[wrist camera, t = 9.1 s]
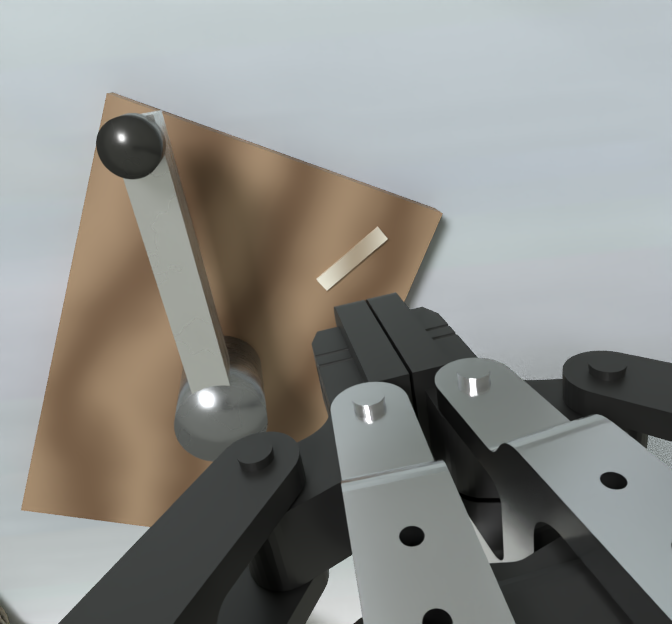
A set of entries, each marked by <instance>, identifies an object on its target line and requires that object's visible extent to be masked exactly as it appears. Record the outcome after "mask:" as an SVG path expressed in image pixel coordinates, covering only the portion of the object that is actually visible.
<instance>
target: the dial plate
mask: <svg viewBox="0 0 672 624" xmlns="http://www.w3.org/2000/svg"><path fill="white" fill-rule="evenodd" d="M159 110H160V109H157V108H154V107H151V106H149V105H146V104H143V103H140V102H137V101H135V100H132V99H129V98H126V97H123V96H121V95H118V94H115V93H107V95H106V100H105V105H104V109H103V114H102V119H101V124H100V129H101V127H102V126H103V125H104V124H105V122H107V121H109V120H110V119H113V118H115V117H118V116H121V115H123V114H127V113H139V114H142V113H148V112H153V111H159ZM162 114H163V117H164V121H165V125H166V128H167V132H168V135H169V139H170V143H171V146H172V150H173V154H174V157H175V161H176V165H177V168H178V172H179V176H180V179H181V183H182V186H183V190H184V194H185V197H186V201H187V205H188V208H189V212H190V216H191V219H192V223H193V227H194V230H195V234H196V238H197V241H198V245H199V248H200V252H201V256H202V259H203V263H204V267H205V270H206V274H207V278H208V281H209V285H210V289H211V292H212V296H213V299H214V303H215V307H216V310H217V314H218V318H219V321H220V325H221V329H222V332H223V336H231V337H235V338H238V339H241V340H243V341H245V342H246V343H248V344H249V345H250V346H252V348H253V349H254V350H255V351H256V352H257V354H258V356H259V358H260V361H261V366H262V375H263V384H264V393H265V401H266V410H267V419H268V425H267V430H266V432H280V433H284V434H287V435H289V436H291V437H292V438H293V439H294V440H295V441H296V442H299V441H301V440H303V439H305V438H307V437H308V436H310V435H312V434H313V433H315V432H316V431H318V430H319V429H320V428H321V427H322V426H323V425H324V423H325V422H326V421H327V419H328V413H327V410H326V407H325V403H324V400H323V396H322V391H321V386H320V382H319V377H318V372H317V368H316V363H315V358H314V353H313V349H312V341H313V339H314V337H315V335H316V333H317V331H322V330H326V329H330V328H334V327H337V326H336V321H335V315H334V307H335V306H339V305H344V304H348V303H352V302H357V301H361V300H366V299H369V298H374V297H378V296H382V295H387V294H391V293H395V292H396V293H397V294H398V295H399V296H400V298H401V299H402V300H403V302H404V301H405V299H406V297H407V294H408V292H409V290H410V287H411V285H412V283H413V280H414V278H415V276H416V274H417V271H418V269H419V267H420V264H421V262H422V260H423V257H424V255H425V253H426V251H427V248H428V246H429V244H430V241H431V239H432V237H433V235H434V232H435V230H436V228H437V225H438V223H439V221H440V218H441V216H442V214H443V213H441V212H440V211H438V210H436V209H435V208H432V207H430V206H427V205H424V204H421V203H419V202H416V201H413V200H410V199H407V198H405V197H402V196H399V195H396V194H393V193H391V192H388V191H385V190H382V189H380V188H377V187H374V186H371V185H368V184H366V183H363V182H360V181H357V180H355V179H352V178H349V177H346V176H343V175H341V174H338V173H335V172H332V171H329V170H327V169H324V168H321V167H318V166H316V165H313V164H310V163H307V162H304V161H302V160H299V159H296V158H293V157H291V156H288V155H285V154H282V153H279V152H277V151H274V150H271V149H268V148H265V147H263V146H260V145H257V144H254V143H252V142H249V141H246V140H243V139H240V138H238V137H235V136H232V135H229V134H226V133H224V132H221V131H218V130H215V129H213V128H210V127H207V126H204V125H201V124H199V123H196V122H193V121H190V120H188V119H185V118H182V117H179V116H176V115H174V114H171V113H168V112H165V111H162ZM100 129H99V130H100ZM182 369H183V364H182V361H181V358H180V355H179V352H178V348H177V345H176V342H175V339H174V336H173V333H172V330H171V327H170V323H169V320H168V317H167V314H166V311H165V308H164V305H163V302H162V298H161V295H160V292H159V289H158V286H157V283H156V280H155V277H154V273H153V270H152V267H151V264H150V261H149V258H148V255H147V252H146V248H145V245H144V242H143V239H142V236H141V233H140V230H139V227H138V223H137V220H136V217H135V214H134V211H133V208H132V205H131V202H130V198H129V195H128V192H127V189H126V186H125V183H124V180H123V178H121V177H119V176H117V175H115V174H113V173H112V172H110V171H109V170H108V169H107V168H106V167H105V166H104V165H103V163H102V162H101V160H100V158H99V156H98V153H97V148H95V153H94V158H93V163H92V168H91V173H90V177H89V182H88V187H87V192H86V197H85V202H84V207H83V211H82V216H81V221H80V226H79V231H78V236H77V241H76V245H75V250H74V255H73V260H72V265H71V270H70V275H69V280H68V284H67V289H66V294H65V299H64V304H63V309H62V314H61V318H60V323H59V328H58V333H57V338H56V343H55V348H54V352H53V357H52V362H51V367H50V372H49V377H48V382H47V386H46V391H45V396H44V401H43V406H42V411H41V416H40V420H39V425H38V430H37V435H36V440H35V445H34V450H33V455H32V459H31V464H30V469H29V474H28V479H27V484H26V489H25V493H24V498H23V503H22V508H21V510H24V511H32V512H39V513H47V514H55V515H62V516H70V517H78V518H86V519H93V520H101V521H109V522H116V523H124V524H132V525H139V526H147V527H151V526H152V525H153V524H154V523H155V522H156V521H157V520H158V519H159V518H160V517H161V516H162V515H163V514H164V513H165V512H166V511H167V510H168V509H169V507H170V506H171V505H172V504H173V503H174V502H175V501H176V500H177V499H178V498H179V497H180V496H181V495H182V494H183V493H184V492H185V491H186V490H187V489H188V488H189V487H190V486H191V484H192V483H193V482H194V481H195V480H196V479H197V478H198V477H199V476H200V475H201V474H202V473H203V472H204V471H205V470H206V469H207V468H208V467H209V466H210V465H211V464H212V463H213V462H212V461H206V460H202V459H199V458H197V457H195V456H193V455H191V454H190V453H188V452H187V451H186V450H185V449H184V448H183V447H182V446H181V445H180V443H179V442H178V440H177V438H176V435H175V431H174V420H175V413H176V407H177V401H178V394H179V388H180V381H181V375H182Z"/></svg>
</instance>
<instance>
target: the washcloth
mask: <svg viewBox="0 0 672 624" xmlns="http://www.w3.org/2000/svg"><path fill="white" fill-rule="evenodd" d="M0 624H10V622H9V620H8V617H7V614H6V613H5V611H4V609H3V608H2V607H1V606H0Z"/></svg>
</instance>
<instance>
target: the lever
mask: <svg viewBox="0 0 672 624" xmlns="http://www.w3.org/2000/svg"><path fill="white" fill-rule="evenodd" d="M96 148H97V153H98V156H99V158H100V160H101V162H102V163H103V165H104V166H105V167H106V168H107V169H108V170H109V171H110V172H112V173H113V174H115V175H117V176H119V177H121V178H123V180H124V183H125V186H126V189H127V192H128V195H129V198H130V202H131V205H132V208H133V211H134V214H135V217H136V220H137V223H138V227H139V230H140V233H141V236H142V239H143V242H144V245H145V248H146V252H147V255H148V258H149V261H150V264H151V267H152V270H153V273H154V277H155V280H156V283H157V286H158V289H159V292H160V295H161V298H162V302H163V305H164V308H165V311H166V314H167V317H168V320H169V323H170V327H171V330H172V333H173V336H174V339H175V342H176V345H177V348H178V352H179V355H180V358H181V361H182V364H183V369H182V375H181V381H180V388H179V394H178V401H177V407H176V413H175V420H174V431H175V435H176V438H177V440H178V442H179V443H180V445H181V446H182V447H183V448H184V449H185V450H186V451H187V452H188V453H190V454H191V455H193V456H195V457H197V458H199V459H202V460H206V461H212V462H213V461H214V460H215V459H216V458H217V457H218V456H219V455H220V454H221V453H222V452H223V451H224V450H225V449H226V448H227V447H228V446H230V445H231V444H233V443H234V442H236V441H237V440H239V439H241V438H243V437H246V436H248V435H251V434H255V433H260V432H266V430H267V425H268V419H267V410H266V401H265V393H264V384H263V375H262V366H261V361H260V358H259V356H258V354H257V352H256V351H255V350H254V349H253V348H252V346H250V345H249V344H248V343H246V342H245V341H243V340H241V339H238V338H235V337H231V336H223V332H222V329H221V325H220V321H219V318H218V314H217V310H216V307H215V303H214V299H213V296H212V292H211V289H210V285H209V281H208V278H207V274H206V270H205V267H204V263H203V259H202V256H201V252H200V248H199V245H198V241H197V238H196V234H195V230H194V227H193V223H192V219H191V216H190V212H189V208H188V205H187V201H186V197H185V194H184V190H183V186H182V183H181V179H180V176H179V172H178V168H177V165H176V161H175V157H174V154H173V150H172V146H171V143H170V139H169V135H168V132H167V128H166V125H165V121H164V117H163V114H162V110H159V111H153V112H148V113H142V114H139V113H127V114H123V115H121V116H118V117H115V118H113V119H110V120H109V121H107V122H105V124H104V125H103V126H102V127H101V129H100V130H99V133H98V135H97V140H96Z"/></svg>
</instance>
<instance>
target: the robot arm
mask: <svg viewBox="0 0 672 624" xmlns="http://www.w3.org/2000/svg"><path fill="white" fill-rule="evenodd" d="M334 315H335V321H336V326H337V327H334V328H330V329H326V330H322V331H317V333H316V335H315V337H314V339H313V341H312V349H313V353H314V358H315V363H316V368H317V372H318V377H319V382H320V386H321V391H322V396H323V400H324V403H325V407H326V410H327V413H328V419H327V421H326V422H325V423H324V425H323V426H322V427H321V428H320V429H319V430H318V431H316V432H315V433H313V434H312V435H310V436H308V437H307V438H305V439H303V440H301V441H299V442H296V441H295V440H294V439H293V438H292V437H291V436H289V435H287V434H284V433H280V432H260V433H255V434H251V435H248V436H246V437H243V438H241V439H239V440H237V441H236V442H234V443H233V444H231V445H230V446H228V447H227V448H226V449H225V450H224V451H223V452H222V453H221V454H220V455H219V456H218V457H217V458H216V459H215V460H214V461H213V463H212V464H211V465H210V466H209V467H208V468H207V469H206V470H205V471H204V472H203V473H202V474H201V475H200V476H199V477H198V478H197V479H196V480H195V481H194V482H193V483H192V484H191V486H190V487H189V488H188V489H187V490H186V491H185V492H184V493H183V494H182V495H181V496H180V497H179V498H178V499H177V500H176V501H175V502H174V503H173V504H172V505H171V506H170V507H169V509H168V510H167V511H166V512H165V513H164V514H163V515H162V516H161V517H160V518H159V519H158V520H157V521H156V522H155V523H154V524H153V525H152V526H151V527H150V528H149V529H148V530H147V532H146V533H145V534H144V535H143V536H142V537H141V538H140V539H139V540H138V541H137V542H136V543H135V544H134V545H133V546H132V547H131V548H130V549H129V550H128V551H127V552H126V553H125V555H124V556H123V557H122V558H121V559H120V560H119V561H118V562H117V563H116V564H115V565H114V566H113V567H112V568H111V569H110V570H109V571H108V572H107V573H106V574H105V575H104V576H103V578H102V579H101V580H100V581H99V582H98V583H97V584H96V585H95V586H94V587H93V588H92V589H91V590H90V591H89V592H88V593H87V594H86V595H85V596H84V597H83V598H82V599H81V601H80V602H79V603H78V604H77V605H76V606H75V607H74V608H73V609H72V610H71V611H70V612H69V613H68V614H67V615H66V616H65V617H64V618H63V619H62V620H61V621H60V622H59V624H305V623H306V621H307V620H308V618H309V616H310V614H311V612H312V611H313V609H314V607H315V605H316V603H317V602H318V600H319V598H320V596H321V595H322V593H323V591H324V589H325V587H326V585H327V582H328V578H329V569H330V568H331V567H333V566H335V565H336V564H338V563H339V562H341V561H343V560H344V559H346V558H347V557H349V556H351V555H353V561H354V567H355V573H356V580H357V586H358V592H359V598H360V604H361V611H362V618H360V619H359V620H358V621H356V622H355V623H354V624H672V469H671V468H670V467H669V466H668V465H666V464H665V463H664V462H663V461H661V460H660V459H659V458H657V457H656V456H655V455H654V454H652V453H651V452H650V451H649V450H647V442H648V435H651V436H654V437H658V438H661V439H665V440H668V441H672V363H668V362H663V361H658V360H653V359H649V358H644V357H639V356H634V355H629V354H624V353H619V352H613V351H590V352H584V353H580V354H577V355H575V356H573V357H571V358H570V359H568V360H567V361H566V362H565V364H564V365H563V379H552V380H523V379H521V378H520V377H519V376H518V375H517V374H516V373H514V372H513V371H512V370H511V369H510V368H509V367H507V366H506V365H504V364H503V363H501V362H498V361H495V360H491V359H486V358H478V357H477V356H476V355H475V354H474V353H473V352H472V351H471V350H470V348H469V347H468V346H467V345H466V344H465V343H464V342H463V341H462V339H461V338H460V337H459V336H458V335H456V334H455V332H454V330H453V329H452V328H451V327H450V326H448V324H447V322H446V321H445V320H444V319H443V318H442V317H441V316H440V315H439V314H438V313H436V312H433V311H431V310H429V309H426V308H424V307H420V308H415V309H411V310H410V309H409V308H408V307H407V305H406V304H405V303H404V302H403V300H402V299H401V298H400V296H399V295H398V294H397V293H396V292H395V293H391V294H387V295H382V296H378V297H374V298H369V299H366V300H361V301H357V302H352V303H348V304H344V305H339V306H335V307H334Z"/></svg>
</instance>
